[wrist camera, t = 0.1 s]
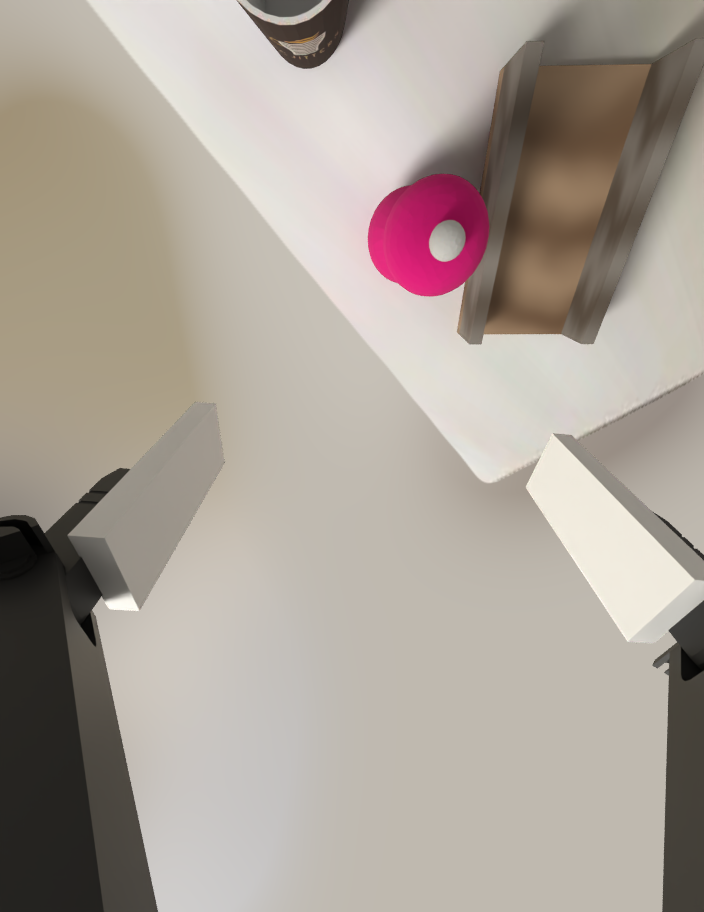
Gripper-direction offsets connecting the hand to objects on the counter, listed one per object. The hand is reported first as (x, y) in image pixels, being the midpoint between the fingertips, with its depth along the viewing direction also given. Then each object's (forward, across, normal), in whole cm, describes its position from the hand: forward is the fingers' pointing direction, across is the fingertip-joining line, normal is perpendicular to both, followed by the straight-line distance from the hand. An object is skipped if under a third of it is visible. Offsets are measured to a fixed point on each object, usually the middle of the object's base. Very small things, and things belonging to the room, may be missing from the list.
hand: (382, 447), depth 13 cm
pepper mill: (+28, +3, +7) cm, 29 cm away
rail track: (+28, +16, +9) cm, 33 cm away
